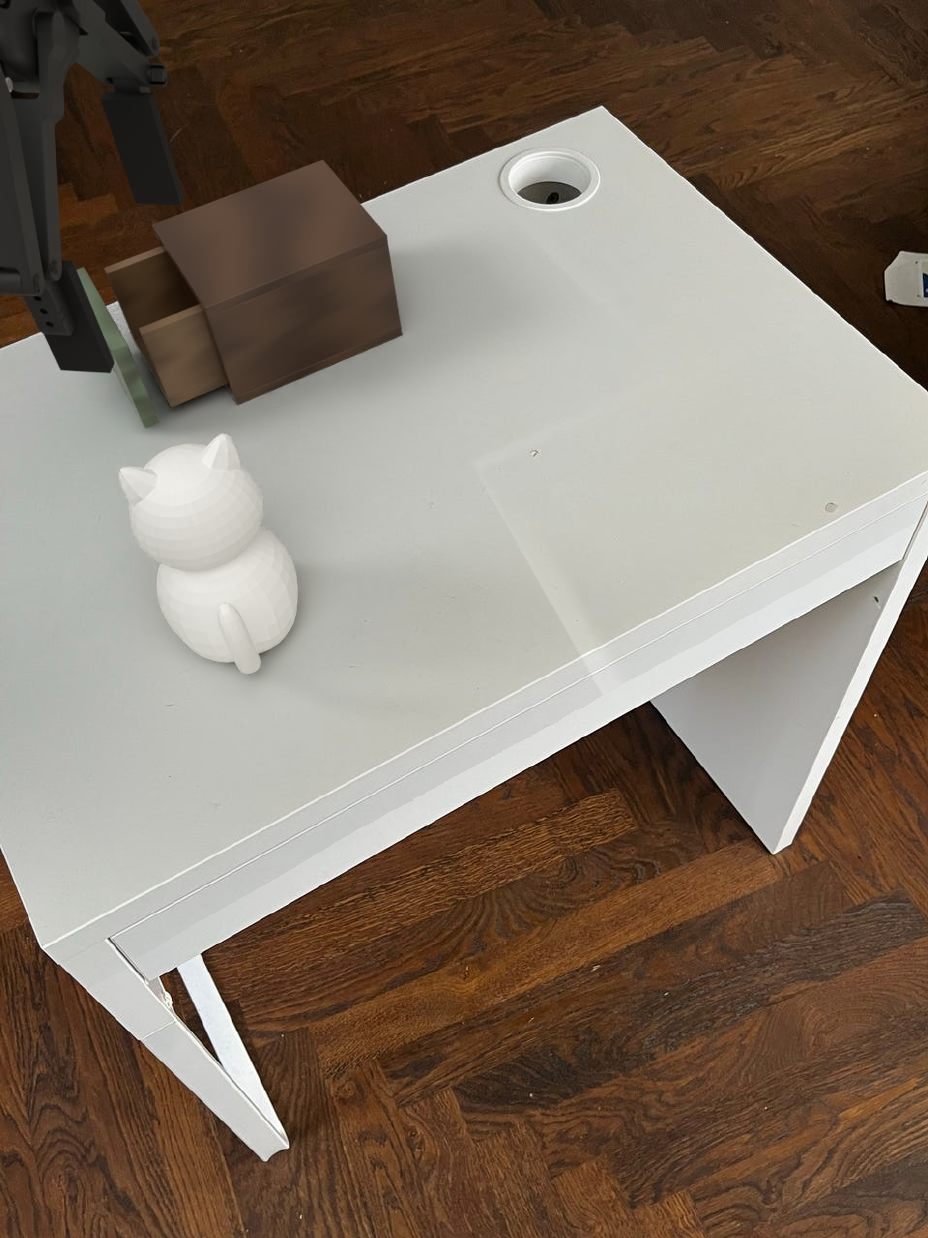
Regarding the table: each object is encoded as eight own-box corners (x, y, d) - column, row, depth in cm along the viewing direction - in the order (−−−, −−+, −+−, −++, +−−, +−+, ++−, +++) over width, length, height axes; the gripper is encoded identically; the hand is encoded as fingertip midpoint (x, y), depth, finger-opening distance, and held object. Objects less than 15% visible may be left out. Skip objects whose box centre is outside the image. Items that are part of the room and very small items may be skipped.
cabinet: (237, 405, 90) (205, 307, 82) (186, 322, 96) (151, 224, 88) (403, 334, 93) (387, 234, 85) (342, 258, 99) (322, 158, 91)
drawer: (130, 434, 88) (95, 357, 81) (89, 356, 93) (53, 278, 87) (305, 361, 91) (284, 281, 84) (255, 289, 96) (232, 209, 90)
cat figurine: (280, 539, 82) (228, 383, 69) (335, 674, 75) (288, 527, 62) (159, 582, 80) (83, 431, 68) (203, 724, 73) (128, 584, 61)
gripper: (-65, 23, 38) (125, 453, 56) (146, -280, 52) (245, 143, 69) (-272, 18, 39) (-21, 444, 57) (-12, -279, 53) (126, 139, 70)
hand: (126, 279), depth 63 cm, fingers open, 13 cm apart
